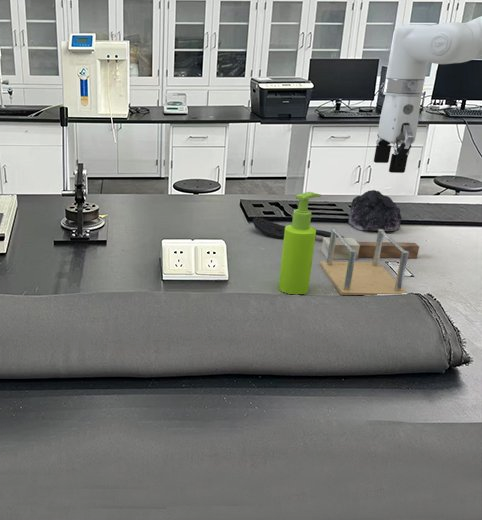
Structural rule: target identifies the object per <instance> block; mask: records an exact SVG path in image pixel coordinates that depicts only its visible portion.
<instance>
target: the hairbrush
mask: <svg viewBox="0 0 482 520" xmlns="http://www.w3.org/2000/svg"><path fill="white" fill-rule="evenodd" d="M257 216H258V217H257ZM257 216H254V217H253V219H252V224H253V225H254V228H255V229H257V230H258V231H259V232H261V233H262V234H263V235H264V236H268V237H272V238H275V239H277V240H284V232H285V227H286V226H287V225H291V224H290V223H289V224H287V222H286V224H285V223H283V224H280V223H279V221H276V222H274V219H273V218H272V219H271V220H270V218H268V219H265V216H264V215H263V216H262V217H260V214H258V215H257ZM316 236H317V237H322V238H323V237H331V231H327V230H322V229H316ZM341 236H342V238H346V237H345V236H343V235H341ZM336 238H338V236H336Z"/></svg>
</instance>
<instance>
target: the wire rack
mask: <svg viewBox="0 0 482 520" xmlns="http://www.w3.org/2000/svg"><path fill="white" fill-rule="evenodd" d="M330 232H331V237H330V244H329V251H328V257H327V258H326V261H325V260H324V261H320V264H319V265H320V267H321V268H322V269H323V271H324V273H325V275H327V277H328V278H329V280H330V282H331V283H332V284H333V286H334V287H335V289H336V290H337V291H338V293H339V295H340V294H341V295H377V294H402V293H408V292H407V290H406V289H404V287H403V282H404V278H405V272H406V268H407V265H408V264H407V263H408V259H409V258H408V254H409V252H408V251H405V250H404V249H403V248H402V247H400V246H399V245H398V244H397V243H396V241H395V240H394V239H393V238H392V237H390V235H388V233H386V231H384V230H383V229H379V230H378V231H377V235H376V241H375V242H376V246H375V252H374V257H372V262H371V261H370V262H369V261H356V259H355V257H356V250H353V249H352V248H351V247H350V246H349V244H348V243H347V242H346V241H345V240H344V239H343V238H342V236H343V235H341V234H340V233H339V232H338V228H331V231H330ZM336 236H338V238H339V239H340V240H341V241H342V242H343V243H344V245H345V246H346V247H347V248H348V249H349V250H350V253H349V259H347V261H334V259H333V256H334V249H335V243H336ZM384 237H385V238H386V239H387V240H388V242H391V243H392V244H394V245H395V246H396V247H397V248H398V249H399V250H400V251H401V252H402V254H401V258H399V259H400V260H399V264H398V270H397V273H396V279H395V278H394V276H393V275H391V273H389V271H388V270H387V269H386V268H385V267H384V266H383V265H382V264H381V262H379V261H380V258H379V257H380V252H381V247H382V242H384ZM341 295H340V296H341Z"/></svg>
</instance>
